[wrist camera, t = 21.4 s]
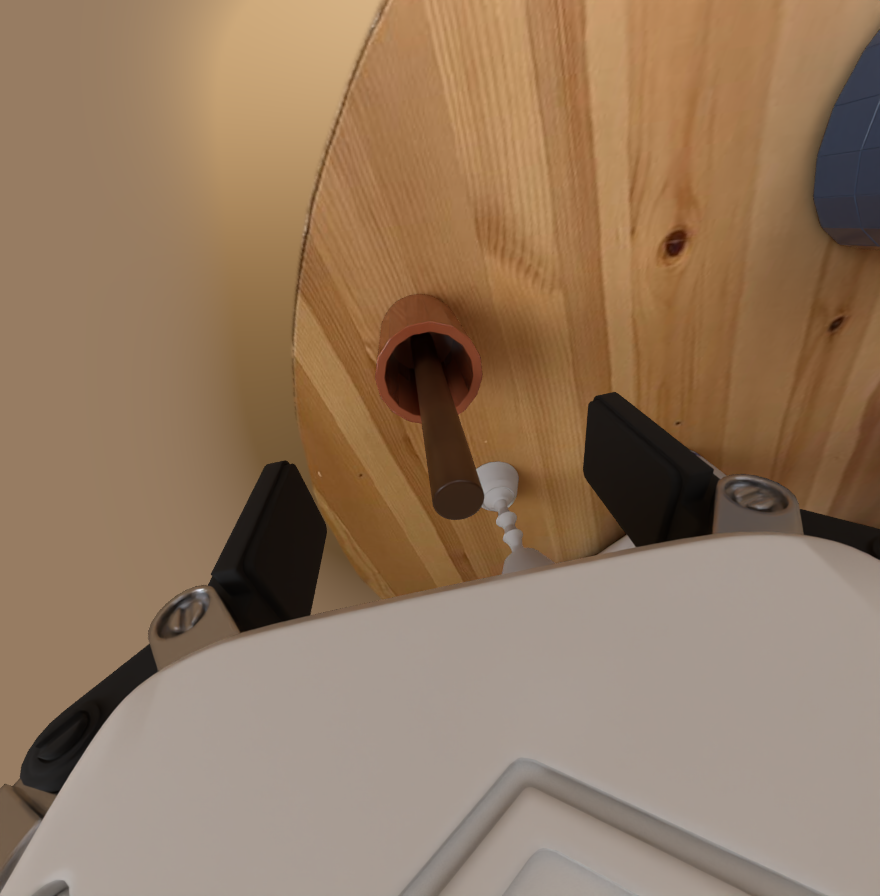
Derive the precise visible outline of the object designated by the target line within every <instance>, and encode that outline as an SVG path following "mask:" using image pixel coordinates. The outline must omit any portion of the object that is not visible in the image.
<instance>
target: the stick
mask: <svg viewBox="0 0 880 896" xmlns="http://www.w3.org/2000/svg"><path fill="white" fill-rule="evenodd" d="M411 350H412V357H413V364H414V371H415V379H416V386H417V393H418V401H419V408H420V415H421V422H422V430H423V437H424V444H425V451H426V459H427V466H428V473H429V480H430V488H431V495H432V502H433V507H434V509H435V510H436V512H437V513H438V514H439V515H441V516H442V517H444V518H447V519H451V520H460V519H465V518H468V517H470V516H472V515H474V514H475V513H476V512H477V511H479V509H480V508H481V507H482V505H483V502H484V492H483V489H482V486H481V483H480V480H479V477H478V474H477V471H476V468H475V465H474V461H473V458H472V455H471V452H470V449H469V446H468V443H467V440H466V437H465V434H464V431H463V428H462V425H461V422H460V419H459V416H458V413H457V410H456V407H455V404H454V401H453V398H452V395H451V392H450V389H449V386H448V383H447V380H446V377H445V374H444V371H443V368H442V365H441V362H440V359H439V356H438V353H437V350H436V347H435V344H434V341H433V338H432V336H431V334H430V333H429V332H426V333H421V334H417V335H412V337H411Z"/></svg>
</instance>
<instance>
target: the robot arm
mask: <svg viewBox="0 0 880 896" xmlns="http://www.w3.org/2000/svg"><path fill="white" fill-rule="evenodd" d="M583 472H584V476H585V478H586V480H587V481H588V483H589V484H590V485H591V487H592V488H593V490H594V491H595V492H596V494H597V495H598V496H599V498H600V499H601V500H602V502H603V503H604V504H605V506H606V507H607V509H608V510H609V511H610V513H611V514H612V515H613V517H614V518H615V519H616V521H617V522H618V524H619V525H620V526H621V528H622V529H623V530H624V532H625V533H626V534H627V536H628V537H629V538H630V540H631V541H632V543H633V544H634V545H635V548H630V549H624V550H619V551H615V552H610V553H605V554H600V555H595V556H590V557H585V558H580V559H575V560H570V561H565V562H560V563H555V564H550V565H545V566H541V567H536V568H531V569H526V570H521V571H516V572H511V573H507V574H502V575H497V576H492V577H487V578H483V579H478V580H473V581H468V582H463V583H459V584H454V585H449V586H444V587H439V588H435V589H430V590H425V591H420V592H416V593H411V594H406V595H402V596H397V597H392V598H388V599H383V600H378V601H374V602H369V603H364V604H360V605H355V606H350V607H346V608H341V609H336V610H332V611H328V612H323V613H319V614H315V615H310V614H311V608H312V604H313V599H314V594H315V588H316V584H317V579H318V574H319V569H320V564H321V559H322V554H323V549H324V544H325V539H326V534H327V528H326V524H325V521H324V519H323V518H322V516H321V514H320V512H319V510H318V508H317V506H316V504H315V502H314V500H313V498H312V496H311V494H310V492H309V490H308V488H307V486H306V485H305V482H304V481H303V479H302V477H301V475H300V473H299V471H298V469H297V467H296V466H295V465H294V464H289V462H287V461H280V462H276V463H271V464H267V465H266V466H265V467H264V469H263V471H262V473H261V475H260V477H259V479H258V481H257V483H256V485H255V487H254V489H253V491H252V493H251V495H250V497H249V499H248V501H247V504H246V505H245V507H244V509H243V511H242V513H241V515H240V517H239V519H238V521H237V523H236V525H235V527H234V529H233V531H232V533H231V535H230V537H229V539H228V541H227V543H226V545H225V547H224V549H223V551H222V553H221V555H220V557H219V559H218V561H217V563H216V565H215V567H214V569H213V571H212V573H211V575H212V578H211V580H210V582H209V584H208V586H207V585H201V586H195V587H193V588H190V589H187V590H185V591H183V592H182V593H180V594H178V595H177V596H175V597H174V598H173V599H171V600H170V601H169V602H168V603H166V604H165V606H164V607H163V608H162V609H161V610H160V611H159V612H158V613H157V615H156V616H155V618H154V619H153V621H152V623H151V625H150V628H149V630H148V639H149V642H150V644H149V645H147V646H146V647H145V648H144V649H143V650H141V651H140V652H138V653H137V654H136V655H135V656H133V657H132V658H131V659H130V660H128V661H127V662H126V663H124V664H123V665H122V666H121V667H119V668H118V669H117V670H116V671H114V672H113V673H112V674H111V675H109V676H108V677H107V678H106V679H104V680H103V681H102V682H100V683H99V684H98V685H96V686H95V687H94V688H93V689H92V690H90V691H89V692H88V693H86V694H85V695H84V696H83V697H81V698H80V699H79V700H78V701H76V702H75V703H74V704H72V705H71V706H70V707H69V708H67V709H66V710H65V711H64V712H62V713H61V714H60V715H59V716H58V717H57V718H56V719H55V720H53V721H52V722H51V723H50V724H49V725H48V726H47V727H46V728H45V730H44V731H43V732H42V733H41V734H40V735H39V736H38V738H37V739H36V740H35V742H34V744H33V745H32V746H31V748H30V749H29V751H28V752H27V755H26V757H25V759H24V761H23V764H22V767H21V773H20V779H19V780H18V781H17V782H16V783H15V784H14V785H13V786H11V785H7V784H4V785H3V786H2V787H1V788H0V896H880V529H877V528H873V527H869V526H865V525H861V524H857V523H853V522H849V521H845V520H841V519H837V518H833V517H829V516H825V515H822V514H818V513H814V512H810V511H806V510H802V509H799V503H798V501H797V499H796V497H795V495H794V494H793V493H791V492H790V491H789V490H788V489H787V488H785V487H784V486H782V485H780V484H779V483H777V482H774V481H772V480H769V479H767V478H763V477H759V476H755V475H747V474H732V475H729V476H725V477H723V478H722V479H720V478H718V477H717V476H716V475H715V474H713V472H714V469H713V468H712V467H711V466H709V465H708V464H707V463H706V462H704V461H703V460H702V459H700V458H699V457H698V456H697V455H695V454H694V453H693V452H692V451H690V450H689V449H688V448H686V447H685V446H684V445H683V444H681V443H680V442H679V441H678V440H676V439H675V438H674V437H673V436H671V435H670V434H669V433H667V432H666V431H665V430H664V429H662V428H661V427H660V426H659V425H657V424H656V423H655V422H654V421H652V420H651V419H650V418H648V417H647V416H646V415H645V414H643V413H642V412H641V411H640V410H638V409H637V408H636V407H635V406H633V405H632V404H631V403H629V402H628V401H627V400H626V399H624V398H623V397H622V396H621V395H619V394H618V393H616V392H612V393H607V394H603V395H598V396H596V397H595V398H594V400H593V401H591V402H590V403H589V406H588V416H587V428H586V440H585V453H584V465H583Z"/></svg>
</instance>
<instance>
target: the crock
mask: <svg viewBox="0 0 880 896" xmlns="http://www.w3.org/2000/svg"><path fill="white" fill-rule="evenodd" d="M426 332H429V333H430V334H431V336H432V338H433V341H434V344H435V347H436V350H437V353H438V356H439V359H440V362H441V365H442V368H443V371H444V374H445V377H446V380H447V383H448V386H449V389H450V392H451V395H452V398H453V401H454V404H455V407H456V410H457V413H458V414H460V413H462V412H463V411H464V410H466V408H467V407H468V406H469V405H470V403H471V402H472V401H473V399H474V398H475V397H476V395H477V393H478V390H479V387H480V383H481V380H482V366H481V357H480V354H479V353H478V351H477V349H476V348H475V346H474V344H473V342H472V341H471V339H470V337H469V336H468V334H467V333H466V331H465V330H464V328H463V327H462V325H461V324H460V322H459V321H458V319H457V318H456V316H455V315H454V313H453V311H452V310H451V309H450V307H448V306H447V305H446V304H445V303H444V302H443V301H441V300H439V299H438V298H435V297H433V296H430V295H425V294H414V295H410V296H406V297H404V298H402V299H400V300H398V301H397V302H396V303H395V304H393V305H392V306H391V307H390V309H389V310H388V311H387V313H386V315H385V317H384V319H383V321H382V325H381V332H380V340H379V348H378V356H377V365H376V373H375V380H376V384H377V387H378V390H379V394H380V397H381V398H382V400H383V401H384V402H385V403H386V405H387V406H388V407H389V408H390V409H391V411H392V412H394V413H395V414H397V415H399V416H401V417H402V418H404V419H406V420H408V421H410V422H415V423H422V422H421V415H420V408H419V401H418V393H417V386H416V379H415V371H414V364H413V357H412V350H411V337H412V335H417V334H421V333H426Z"/></svg>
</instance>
